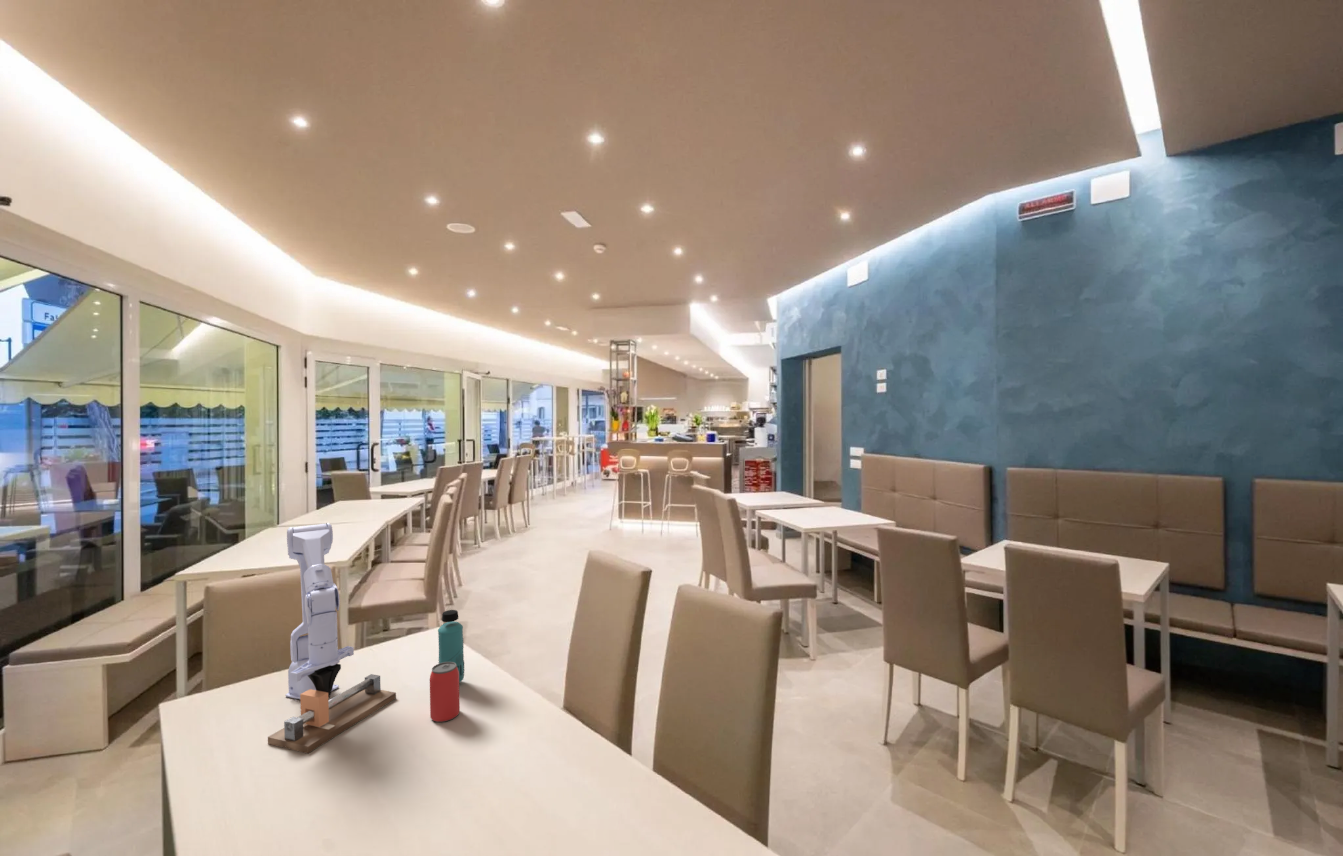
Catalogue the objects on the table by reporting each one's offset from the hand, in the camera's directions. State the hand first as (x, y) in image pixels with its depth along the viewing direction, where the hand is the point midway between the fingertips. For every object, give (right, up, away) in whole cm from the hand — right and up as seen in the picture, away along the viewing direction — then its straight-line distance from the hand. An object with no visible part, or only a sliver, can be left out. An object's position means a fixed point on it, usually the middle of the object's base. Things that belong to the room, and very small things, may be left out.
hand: (324, 697), depth 128 cm
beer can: (+27, -7, +4) cm, 28 cm away
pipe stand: (+1, -5, +3) cm, 6 cm away
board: (+1, -7, +3) cm, 7 cm away
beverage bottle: (+22, -6, +19) cm, 30 cm away
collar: (-1, -4, -2) cm, 5 cm away
